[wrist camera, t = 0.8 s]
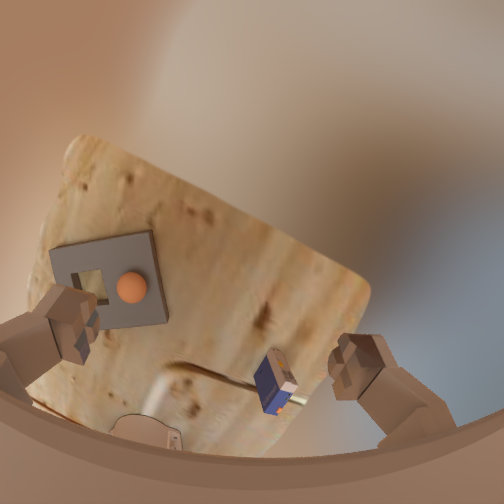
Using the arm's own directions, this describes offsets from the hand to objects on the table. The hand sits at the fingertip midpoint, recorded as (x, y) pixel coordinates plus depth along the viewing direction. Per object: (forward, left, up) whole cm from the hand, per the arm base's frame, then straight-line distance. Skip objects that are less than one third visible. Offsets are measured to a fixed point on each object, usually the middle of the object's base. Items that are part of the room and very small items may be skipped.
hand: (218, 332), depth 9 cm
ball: (-9, +14, -35) cm, 39 cm away
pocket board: (-9, +20, -41) cm, 46 cm away
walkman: (-31, -7, -41) cm, 51 cm away
